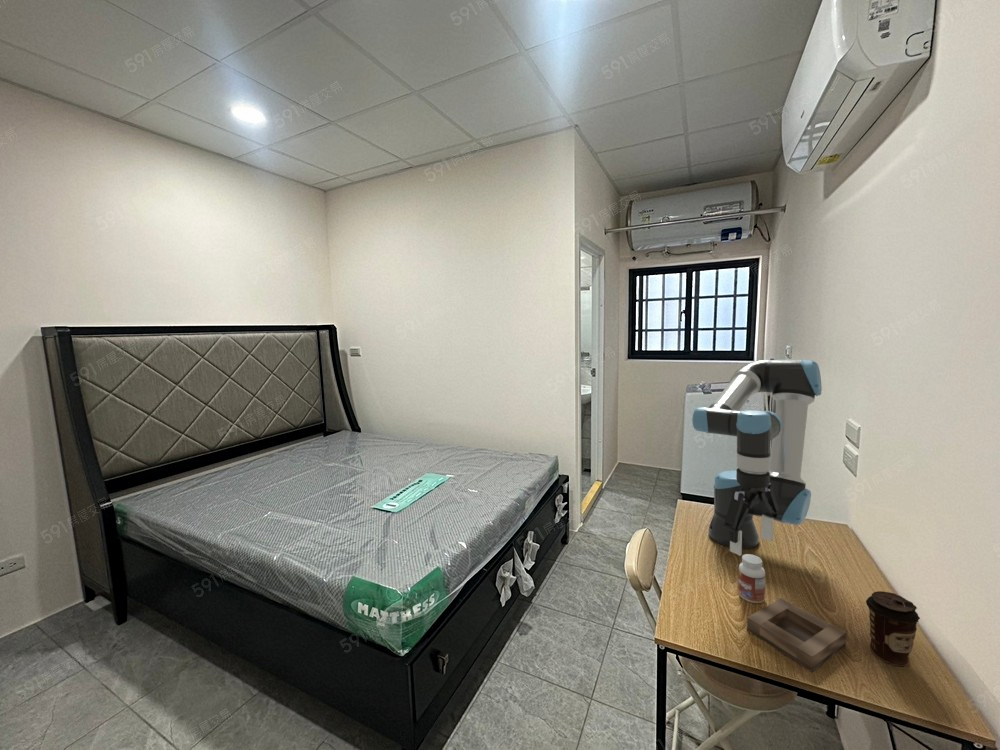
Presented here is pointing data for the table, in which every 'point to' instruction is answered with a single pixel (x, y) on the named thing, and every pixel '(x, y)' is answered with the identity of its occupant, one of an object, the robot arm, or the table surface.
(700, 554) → the table surface
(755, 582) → the pill bottle
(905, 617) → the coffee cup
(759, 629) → the bore block
